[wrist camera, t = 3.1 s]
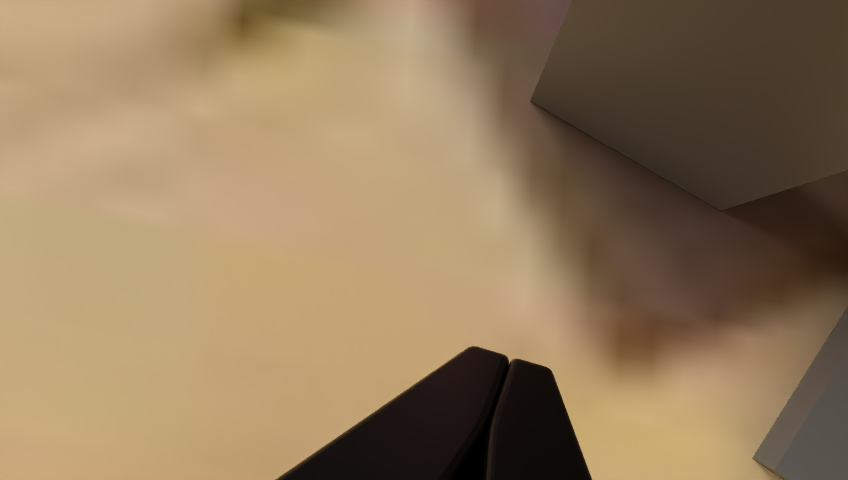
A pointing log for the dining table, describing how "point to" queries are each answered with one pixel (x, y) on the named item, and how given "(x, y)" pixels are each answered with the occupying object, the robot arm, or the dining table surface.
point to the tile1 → (708, 89)
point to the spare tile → (814, 419)
